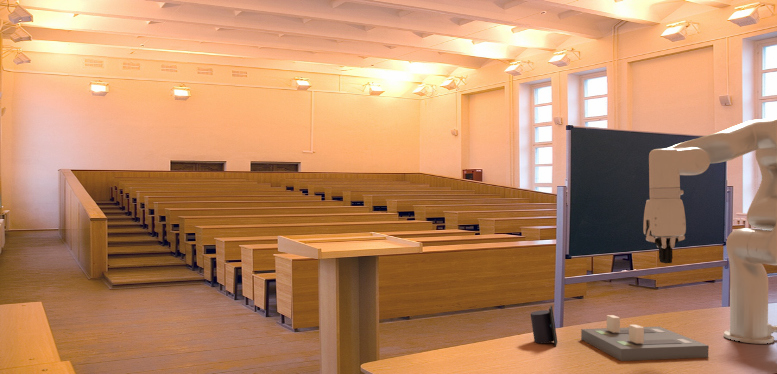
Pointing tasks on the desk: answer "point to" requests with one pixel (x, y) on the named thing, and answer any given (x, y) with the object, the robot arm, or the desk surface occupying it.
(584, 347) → the desk surface
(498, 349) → the desk surface
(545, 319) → the speaker
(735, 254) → the robot arm
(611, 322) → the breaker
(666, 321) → the desk surface
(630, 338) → the block
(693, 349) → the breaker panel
